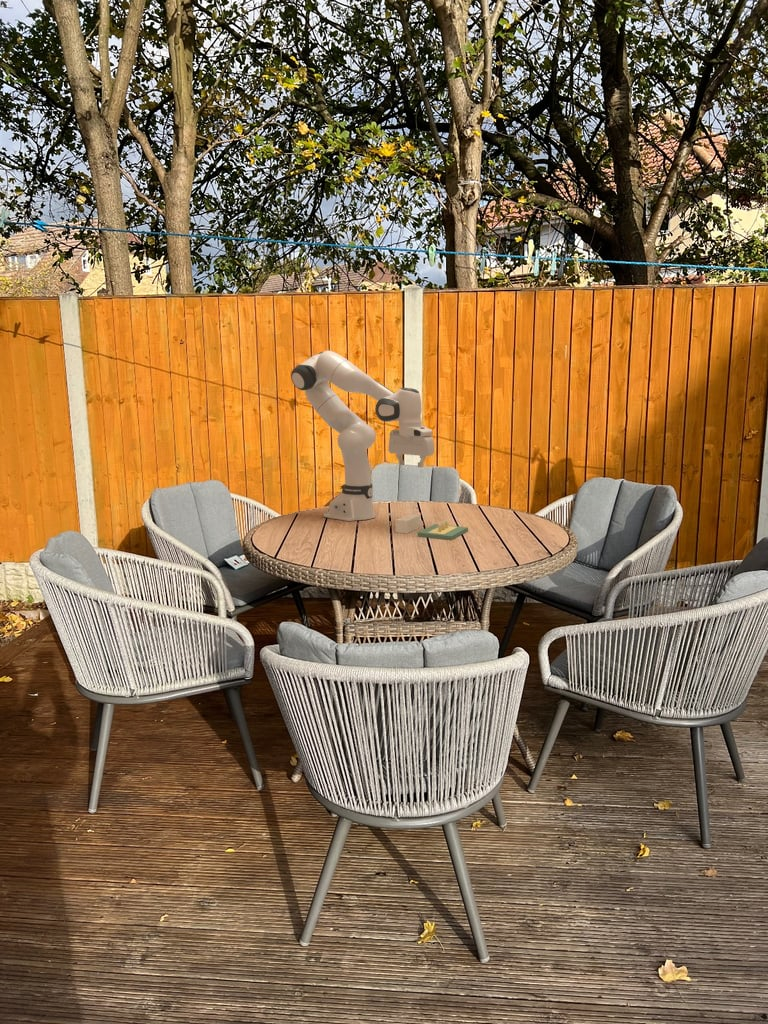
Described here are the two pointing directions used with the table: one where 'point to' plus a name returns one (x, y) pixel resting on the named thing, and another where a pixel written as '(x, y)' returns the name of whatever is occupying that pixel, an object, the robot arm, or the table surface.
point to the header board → (442, 531)
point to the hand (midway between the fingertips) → (411, 466)
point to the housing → (407, 523)
